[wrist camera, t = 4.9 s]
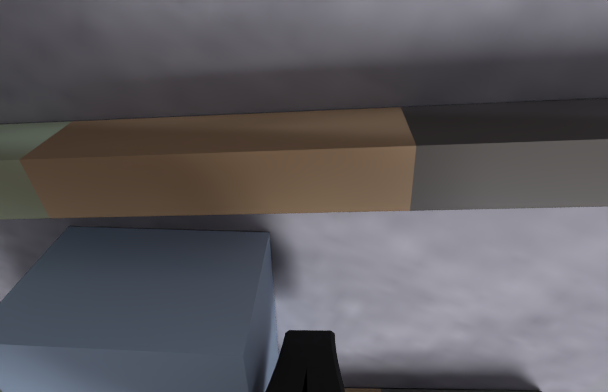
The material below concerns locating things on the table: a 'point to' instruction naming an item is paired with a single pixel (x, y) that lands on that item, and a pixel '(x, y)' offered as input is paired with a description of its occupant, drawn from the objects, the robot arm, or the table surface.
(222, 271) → the slate block
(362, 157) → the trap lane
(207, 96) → the table surface
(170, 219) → the table surface
